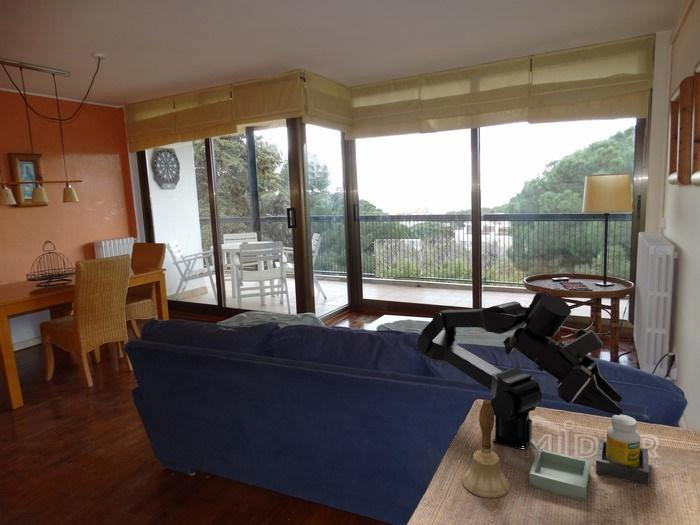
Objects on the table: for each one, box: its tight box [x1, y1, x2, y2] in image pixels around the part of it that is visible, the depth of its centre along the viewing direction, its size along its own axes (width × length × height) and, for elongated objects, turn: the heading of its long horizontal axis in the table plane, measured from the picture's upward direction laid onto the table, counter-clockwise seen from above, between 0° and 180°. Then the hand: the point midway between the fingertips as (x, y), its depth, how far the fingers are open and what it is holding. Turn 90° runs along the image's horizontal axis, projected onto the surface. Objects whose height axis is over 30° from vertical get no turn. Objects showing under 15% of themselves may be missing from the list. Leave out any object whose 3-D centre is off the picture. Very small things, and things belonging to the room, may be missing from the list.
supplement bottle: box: [605, 414, 641, 468], centre depth 86 cm, size 5×5×10 cm
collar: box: [595, 439, 650, 486], centre depth 87 cm, size 8×8×2 cm
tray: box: [528, 448, 591, 502], centre depth 84 cm, size 9×9×2 cm
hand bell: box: [461, 399, 511, 499], centre depth 83 cm, size 8×8×16 cm
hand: (621, 406), depth 83 cm, fingers open, 9 cm apart
